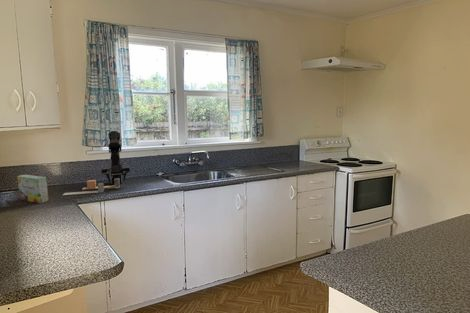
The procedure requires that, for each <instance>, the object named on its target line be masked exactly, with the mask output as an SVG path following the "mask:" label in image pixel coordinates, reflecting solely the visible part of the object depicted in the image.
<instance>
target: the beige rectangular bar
mask: <svg viewBox="0 0 470 313" xmlns="http://www.w3.org/2000/svg"><path fill="white" fill-rule="evenodd" d="M120 187H121V184H120V181H119V178H116V179H114V184H113V185H104V189H107V190H110V189H111V190H112V189H120ZM94 189H95V190H96V189H97V190H98V186H96V188H94ZM94 189H93V190H94ZM82 190H88V189H87V187H83V188H82V189H81V191H82Z"/></svg>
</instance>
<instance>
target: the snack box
mask: <svg viewBox="0 0 470 313" xmlns="http://www.w3.org/2000/svg"><path fill="white" fill-rule="evenodd" d="M16 177H17V185H18V186H17V187H18V193H19V199H20V200H21V201H26V202H32V203H37V204H45V203H47V202H48V203H49V201H50V200H49V193H48V192H49V191H48V183H47V182H48V181H47V177H46V176H39V175H32V174H21V175H17V176H16Z"/></svg>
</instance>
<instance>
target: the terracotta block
mask: <svg viewBox="0 0 470 313" xmlns="http://www.w3.org/2000/svg"><path fill="white" fill-rule="evenodd" d="M86 186H87V189H86V190H94V188H96V187H97V180H96V179H88V180H87V181H86Z"/></svg>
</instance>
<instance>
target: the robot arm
mask: <svg viewBox="0 0 470 313" xmlns="http://www.w3.org/2000/svg"><path fill="white" fill-rule="evenodd" d="M107 135H108V137H107V138H108V140H109V139H110V140H109V143H108V153H109V154H110V162H111V164H110V168H108V167H106V168H105V167H104V168H102V169H101V172H100V173H101V174H103V175H105V176H106V178H107V180H108V182H109V183H111V184H112V185H115V184H114V179H116V178H119V181H120V185H122V184H123V182H125V180H126V177H127V174H129V173H130V172H131V167H130V166H124V167H123V166H122V163H121V159H120V158H121V157H120V156H121V154H120V153H121V152H122V144H121V143H120V140H121V132H118V131H117V130H112V131H110V132H109V133H108V134H107ZM122 177H123V179H122Z"/></svg>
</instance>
